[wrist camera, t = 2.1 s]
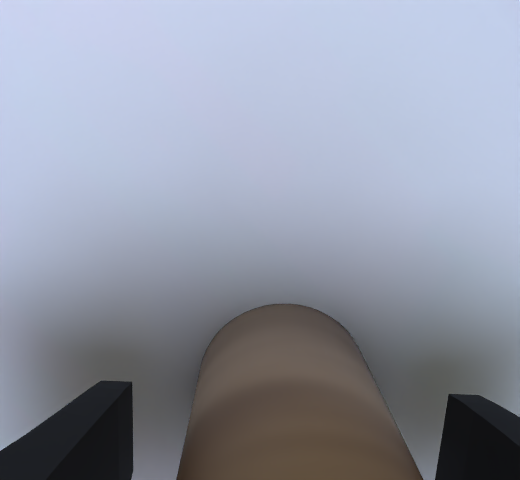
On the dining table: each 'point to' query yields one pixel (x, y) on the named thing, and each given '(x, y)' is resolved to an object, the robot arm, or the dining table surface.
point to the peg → (290, 405)
